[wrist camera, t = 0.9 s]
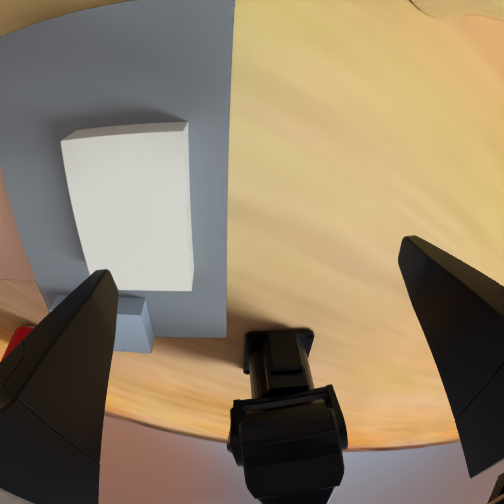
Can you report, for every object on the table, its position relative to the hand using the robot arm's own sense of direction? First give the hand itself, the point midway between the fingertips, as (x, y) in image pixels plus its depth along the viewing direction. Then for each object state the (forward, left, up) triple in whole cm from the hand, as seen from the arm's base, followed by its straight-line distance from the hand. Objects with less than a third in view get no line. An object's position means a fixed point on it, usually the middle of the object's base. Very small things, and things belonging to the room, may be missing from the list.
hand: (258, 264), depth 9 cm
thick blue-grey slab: (-11, +10, -8) cm, 17 cm away
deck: (-2, +8, -12) cm, 15 cm away
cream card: (-2, +6, -8) cm, 10 cm away
